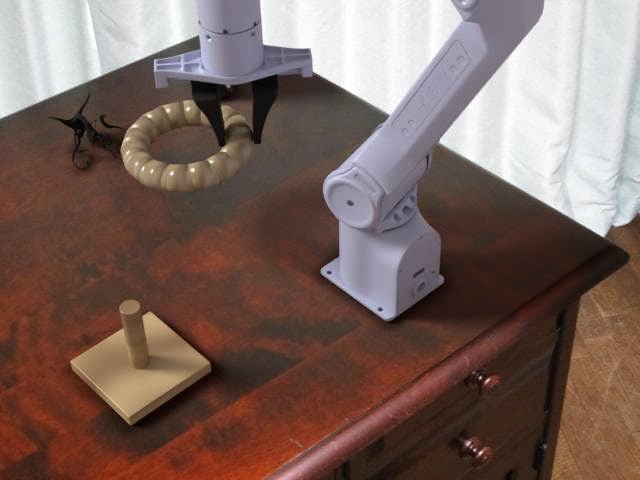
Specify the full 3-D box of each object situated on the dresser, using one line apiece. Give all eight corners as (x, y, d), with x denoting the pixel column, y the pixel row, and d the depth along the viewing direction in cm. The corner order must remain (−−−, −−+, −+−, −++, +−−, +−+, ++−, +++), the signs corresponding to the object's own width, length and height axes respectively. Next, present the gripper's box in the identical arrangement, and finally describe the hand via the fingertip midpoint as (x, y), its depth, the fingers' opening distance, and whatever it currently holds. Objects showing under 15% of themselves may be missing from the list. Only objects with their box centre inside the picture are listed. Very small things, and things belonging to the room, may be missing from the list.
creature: (144, 151, 130) (94, 113, 132) (145, 116, 126) (95, 79, 128) (92, 186, 125) (42, 146, 128) (92, 151, 121) (40, 111, 124)
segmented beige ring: (280, 154, 112) (278, 133, 110) (174, 216, 106) (170, 194, 104) (202, 100, 119) (199, 79, 118) (99, 155, 114) (94, 134, 112)
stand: (211, 371, 104) (203, 307, 98) (130, 426, 99) (117, 362, 94) (151, 319, 108) (140, 256, 103) (71, 369, 104) (56, 306, 98)
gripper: (306, -11, 106) (310, 109, 115) (148, 0, 105) (165, 120, 114) (313, 29, 101) (317, 152, 110) (147, 41, 100) (165, 164, 109)
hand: (240, 139), depth 112 cm, fingers closed on segmented beige ring, 3 cm apart
